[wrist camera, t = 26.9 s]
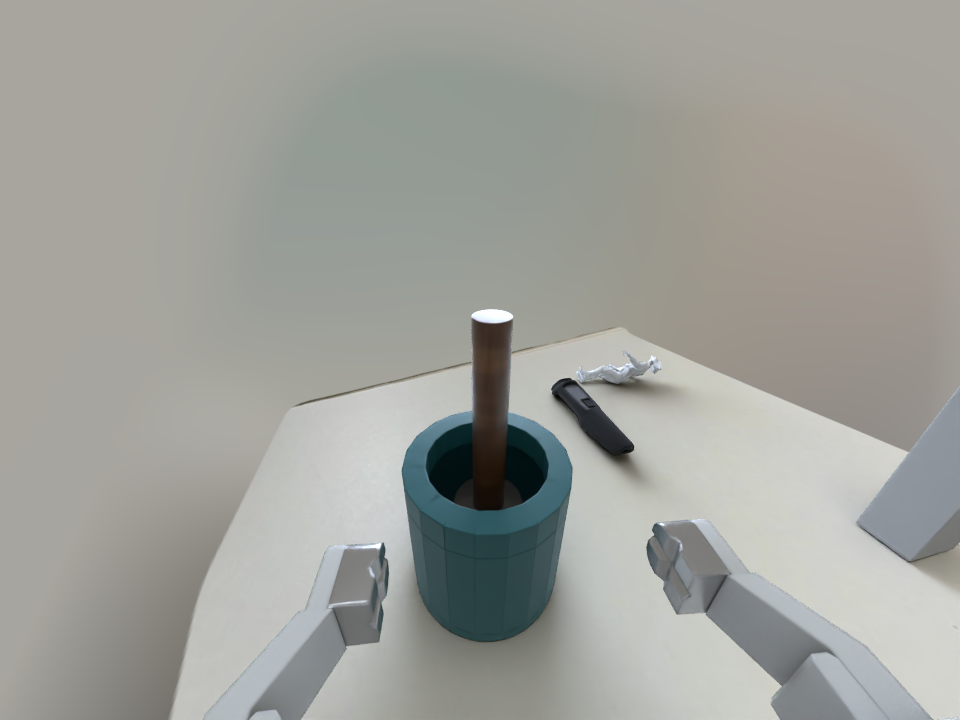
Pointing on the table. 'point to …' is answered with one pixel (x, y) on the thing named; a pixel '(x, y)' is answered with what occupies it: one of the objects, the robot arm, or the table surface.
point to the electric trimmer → (592, 417)
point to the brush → (490, 414)
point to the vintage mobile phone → (922, 493)
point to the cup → (486, 528)
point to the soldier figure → (620, 370)
